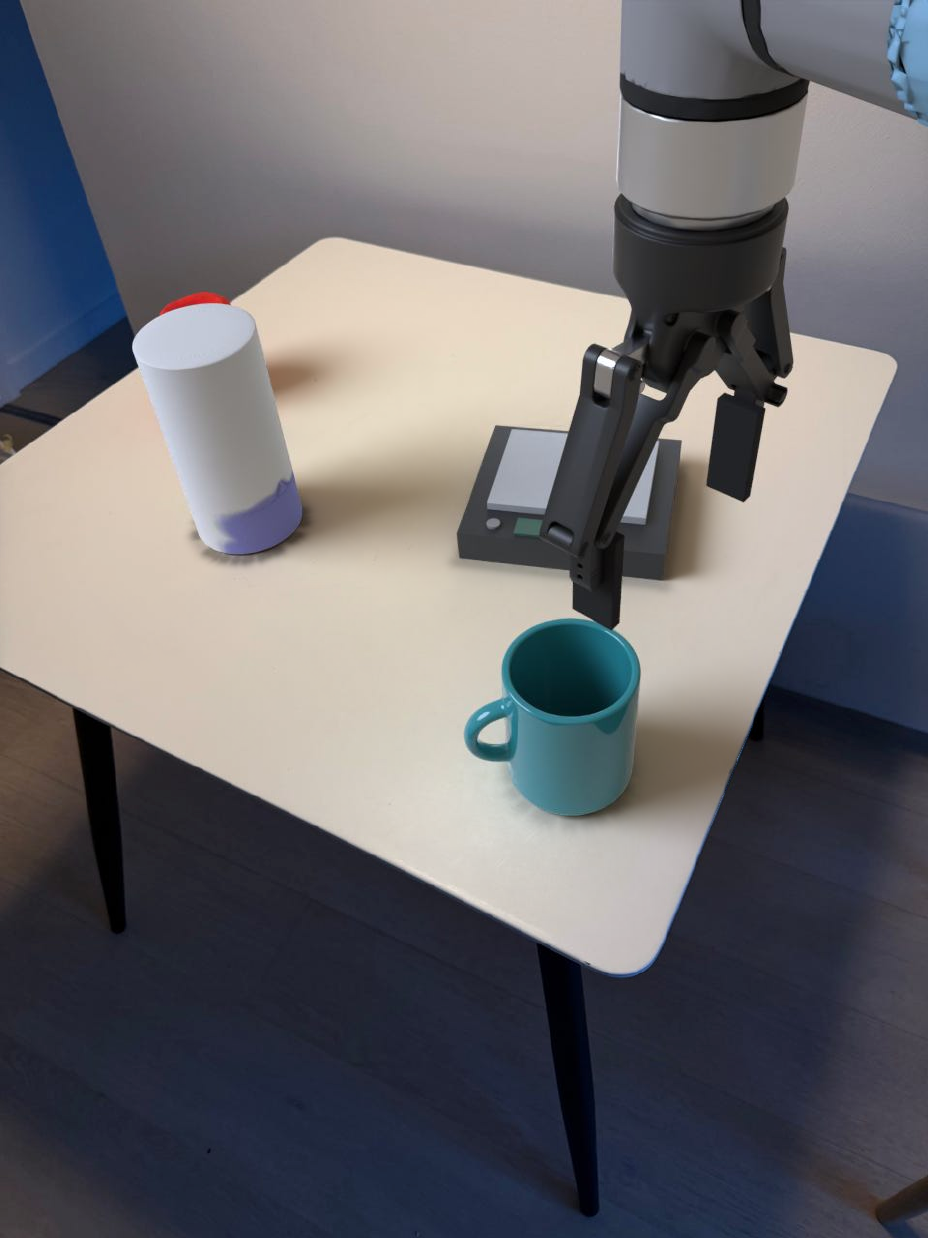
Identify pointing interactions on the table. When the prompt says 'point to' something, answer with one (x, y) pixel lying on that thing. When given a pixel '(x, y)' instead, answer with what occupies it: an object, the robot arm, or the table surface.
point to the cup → (565, 715)
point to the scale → (520, 491)
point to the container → (221, 425)
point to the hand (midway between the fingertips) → (665, 550)
